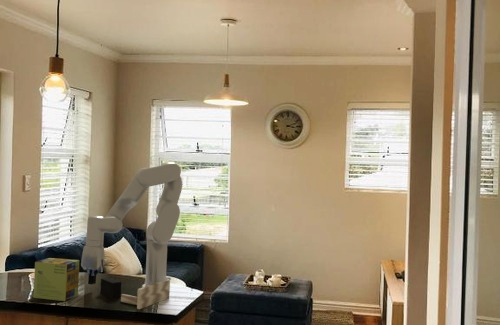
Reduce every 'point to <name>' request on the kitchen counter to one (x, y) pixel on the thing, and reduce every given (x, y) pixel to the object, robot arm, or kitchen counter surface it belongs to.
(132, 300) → the display bay
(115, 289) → the digital camera
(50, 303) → the kitchen counter surface
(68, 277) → the protein box
